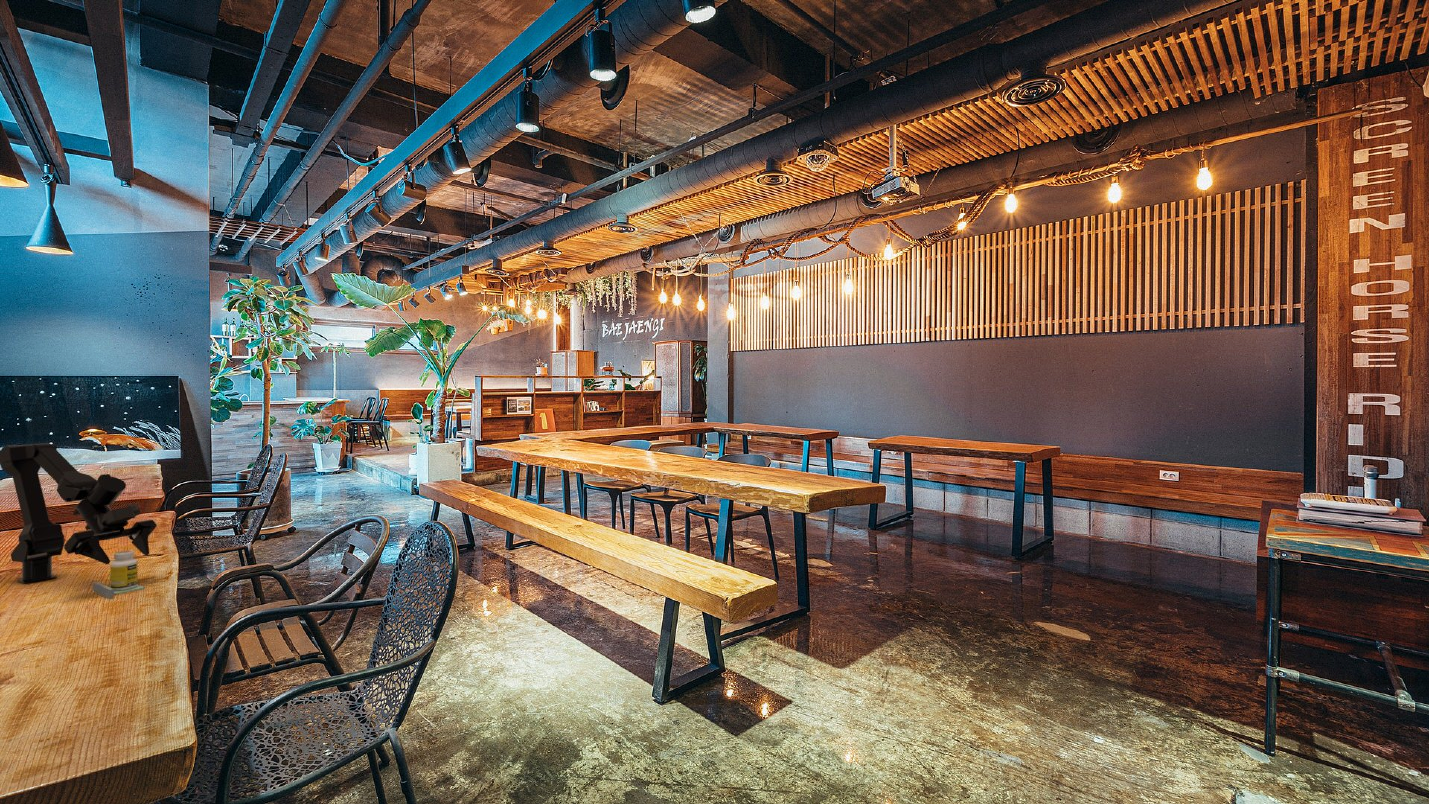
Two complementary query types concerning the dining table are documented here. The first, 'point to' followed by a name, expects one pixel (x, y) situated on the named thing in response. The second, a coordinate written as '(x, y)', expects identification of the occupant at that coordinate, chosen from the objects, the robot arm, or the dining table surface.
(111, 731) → the dining table surface
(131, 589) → the coaster
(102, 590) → the acrylic wall
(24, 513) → the robot arm
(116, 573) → the supplement bottle
